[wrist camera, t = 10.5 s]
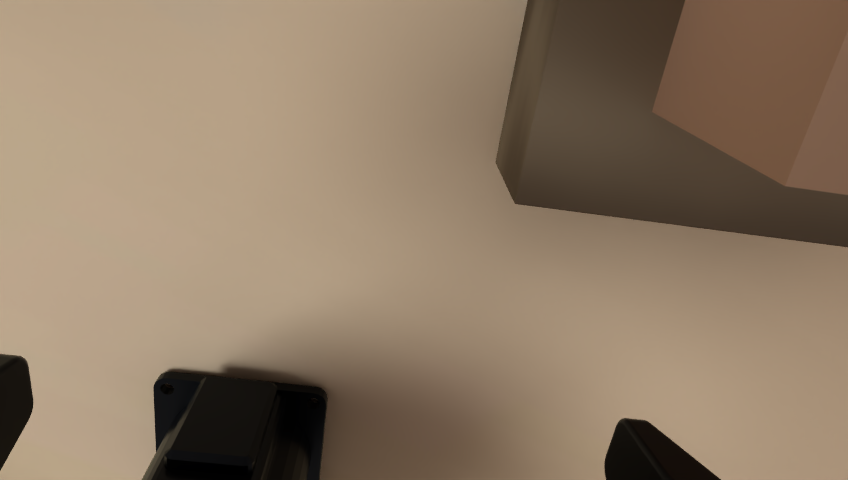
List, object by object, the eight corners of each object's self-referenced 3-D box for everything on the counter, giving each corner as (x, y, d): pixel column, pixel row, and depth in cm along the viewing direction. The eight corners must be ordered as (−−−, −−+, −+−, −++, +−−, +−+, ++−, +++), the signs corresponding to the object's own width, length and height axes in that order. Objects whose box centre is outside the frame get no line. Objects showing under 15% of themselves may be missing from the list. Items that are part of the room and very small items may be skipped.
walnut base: (832, 207, 21) (920, 256, 17) (495, 162, 20) (515, 204, 16) (1013, -203, 16) (1187, -255, 13) (585, -288, 15) (639, -370, 12)
